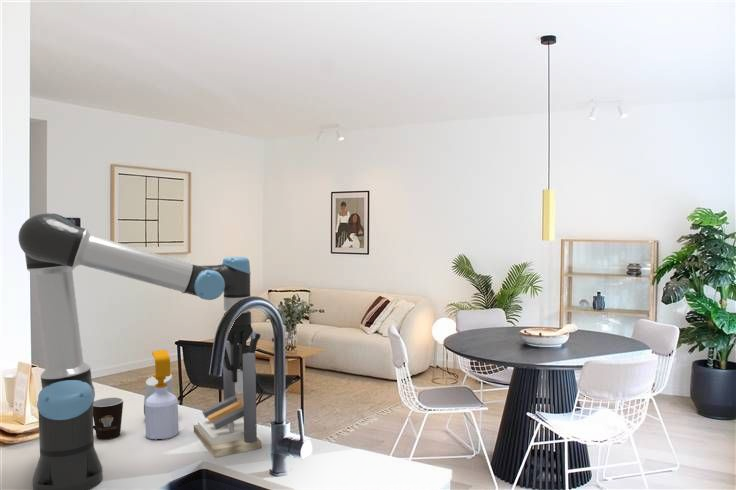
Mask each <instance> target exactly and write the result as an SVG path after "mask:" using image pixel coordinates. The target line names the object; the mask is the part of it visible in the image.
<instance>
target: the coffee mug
mask: <svg viewBox="0 0 736 490" xmlns="http://www.w3.org/2000/svg"><path fill="white" fill-rule="evenodd" d="M123 409H124V399H123V398H121V397H104V398H99V399H96V400H94V403H93V431H95V435H96V439H97V440H100V441H103V440H104V441H106V440H107V441H108V440H112V439H117V438H118V437H120V436H121V430H122V418H123Z"/></svg>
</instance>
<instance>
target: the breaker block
mask: <svg viewBox="0 0 736 490" xmlns="http://www.w3.org/2000/svg"><path fill="white" fill-rule="evenodd" d="M197 425H198V429H199V430H200V431H201V432H202V434H203V435H204V436H205V437H206V438H207V440H208V441H209V442H210V443H211V444H212V445H217V444H222V443H227V442H232V441H237V440H242V439H244V418H243V417H241V418H239V419H237V420H235V421H233V422H231V423H229V424H227V425H225V426H223V427H221V428H220V429H218V430H216V429H215V428H214V425H213V423H212V424H211V423H210V422H209V420H208V419H206V420H200V421H197Z"/></svg>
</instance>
